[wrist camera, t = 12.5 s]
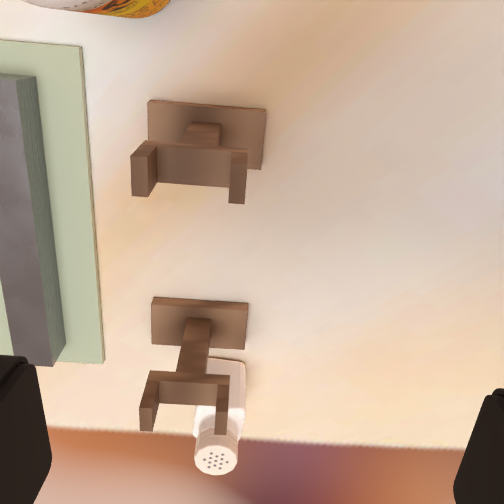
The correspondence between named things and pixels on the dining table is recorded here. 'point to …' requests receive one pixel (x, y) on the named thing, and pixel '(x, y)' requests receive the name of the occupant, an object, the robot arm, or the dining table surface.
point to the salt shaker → (225, 446)
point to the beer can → (106, 6)
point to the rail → (27, 227)
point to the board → (64, 191)
